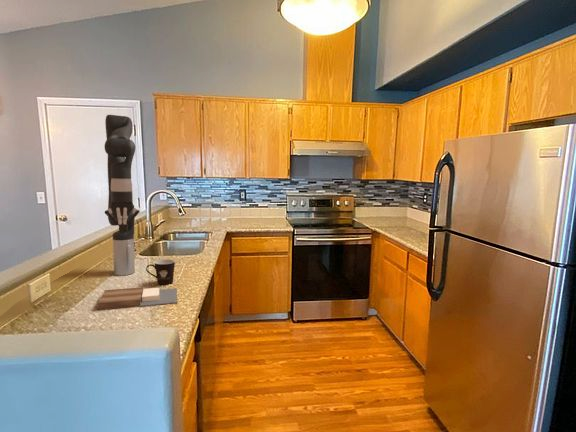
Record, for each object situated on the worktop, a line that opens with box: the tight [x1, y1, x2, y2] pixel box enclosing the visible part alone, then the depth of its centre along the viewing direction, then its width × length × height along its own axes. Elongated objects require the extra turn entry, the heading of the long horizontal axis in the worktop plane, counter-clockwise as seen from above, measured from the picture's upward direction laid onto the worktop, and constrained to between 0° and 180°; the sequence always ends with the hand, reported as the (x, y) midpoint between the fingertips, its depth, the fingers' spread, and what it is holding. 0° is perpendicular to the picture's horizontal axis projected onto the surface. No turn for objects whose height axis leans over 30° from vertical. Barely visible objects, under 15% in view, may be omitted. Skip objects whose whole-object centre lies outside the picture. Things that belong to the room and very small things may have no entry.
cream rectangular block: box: [142, 287, 160, 302], centre depth 128 cm, size 9×6×2 cm, turn 21°
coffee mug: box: [145, 258, 176, 287], centre depth 146 cm, size 12×9×10 cm
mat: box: [139, 287, 178, 308], centre depth 129 cm, size 16×13×1 cm
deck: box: [96, 286, 144, 311], centre depth 124 cm, size 14×14×2 cm
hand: (123, 233), depth 129 cm, fingers closed
